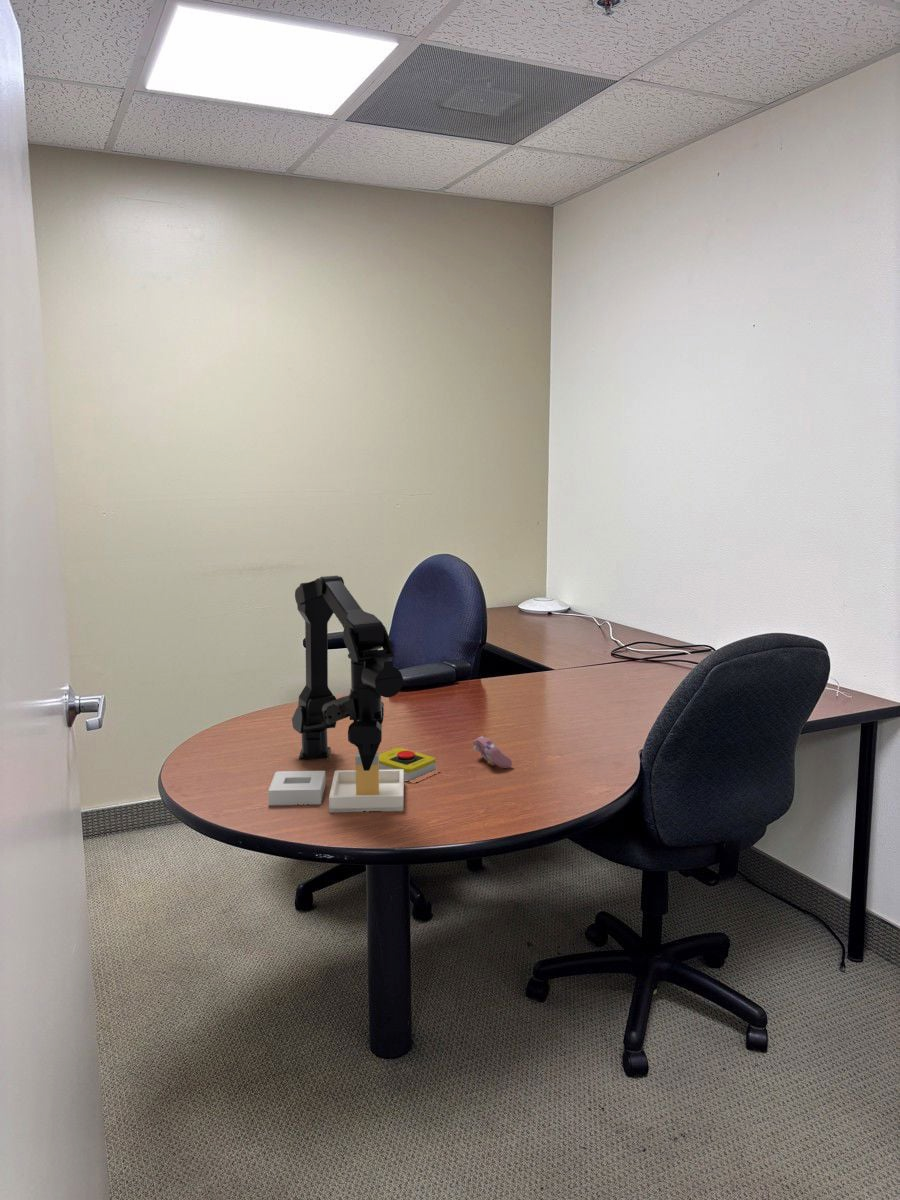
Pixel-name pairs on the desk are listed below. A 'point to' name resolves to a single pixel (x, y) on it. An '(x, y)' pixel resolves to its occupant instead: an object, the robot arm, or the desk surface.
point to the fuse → (367, 777)
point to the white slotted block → (297, 788)
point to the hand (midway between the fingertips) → (367, 761)
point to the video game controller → (491, 752)
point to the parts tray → (348, 801)
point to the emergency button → (407, 762)
